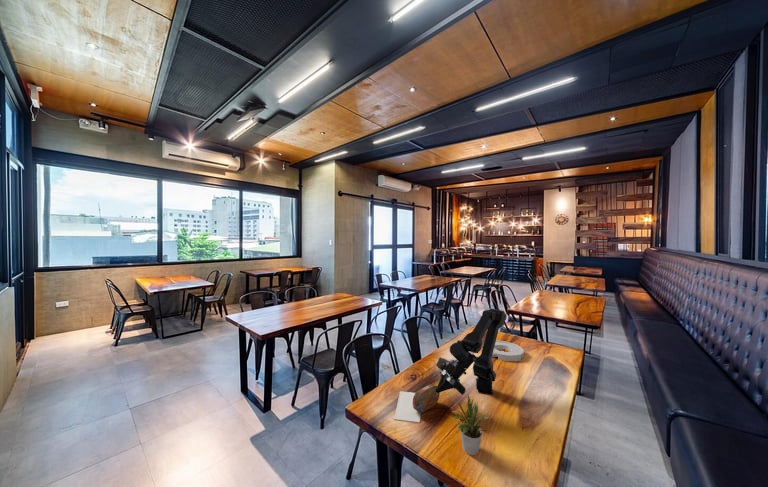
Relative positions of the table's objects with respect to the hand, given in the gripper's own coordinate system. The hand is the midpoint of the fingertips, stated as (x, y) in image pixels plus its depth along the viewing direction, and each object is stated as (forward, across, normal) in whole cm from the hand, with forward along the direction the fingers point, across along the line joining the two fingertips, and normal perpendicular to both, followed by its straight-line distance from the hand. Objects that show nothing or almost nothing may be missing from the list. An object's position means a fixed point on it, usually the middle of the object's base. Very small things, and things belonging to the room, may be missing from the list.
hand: (436, 392), depth 118 cm
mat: (+12, -3, -3) cm, 13 cm away
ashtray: (-38, -46, +48) cm, 77 cm away
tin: (+8, -1, +2) cm, 8 cm away
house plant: (+3, +22, +7) cm, 24 cm away
